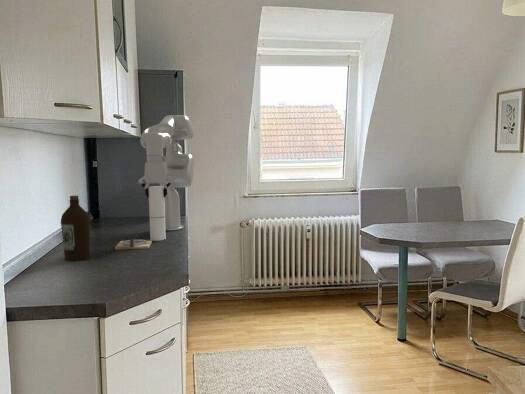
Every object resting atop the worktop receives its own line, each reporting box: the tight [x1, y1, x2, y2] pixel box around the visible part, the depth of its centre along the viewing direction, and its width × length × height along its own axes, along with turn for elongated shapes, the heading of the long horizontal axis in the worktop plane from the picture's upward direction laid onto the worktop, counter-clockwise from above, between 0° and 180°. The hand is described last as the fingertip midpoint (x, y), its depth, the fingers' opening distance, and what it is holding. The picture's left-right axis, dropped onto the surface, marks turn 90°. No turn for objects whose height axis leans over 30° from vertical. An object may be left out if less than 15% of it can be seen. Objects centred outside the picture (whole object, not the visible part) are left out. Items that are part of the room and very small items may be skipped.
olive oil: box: [60, 195, 91, 262], centre depth 183 cm, size 11×11×25 cm
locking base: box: [114, 233, 153, 251], centre depth 206 cm, size 14×14×4 cm
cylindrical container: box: [148, 185, 167, 242], centre depth 218 cm, size 7×7×25 cm
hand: (156, 196), depth 217 cm, fingers closed on cylindrical container, 7 cm apart
